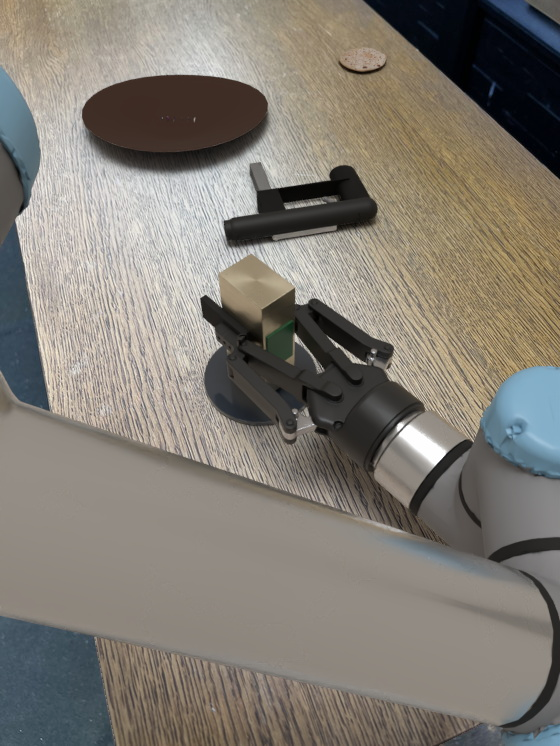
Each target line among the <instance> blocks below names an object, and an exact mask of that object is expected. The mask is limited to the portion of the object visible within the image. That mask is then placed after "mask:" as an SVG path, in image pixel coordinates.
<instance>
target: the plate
mask: <svg viewBox="0 0 560 746" xmlns="http://www.w3.org/2000/svg"><path fill="white" fill-rule="evenodd" d="M268 111H269V102H268V100H267V98H266V96H265V95H264V94H263V93H262V92H261V91H260V90H259V89H257V88H256V87H254V86H253V85H250V84H248V83H245V82H242V81H240V80H235V79H230V78H228V77H227V78H226V77H221V76H214V75H203V74H202V75H200V74H159V75H150V76H142V77H138V78H137V77H136V78H132V79H127V80H123V81H119V82H117V83H114V84H111V85H109V86H107V87H104V88H102V89H100V90H99V91H97V92H95V93H94V94H93V95H91V96H90V97H89V98H88V99H87V100H86V101H85V102H84V105H83V107H82V109H81V120H82V122H83V124H84V127H85V128H86V129H88V130H89V132H91V134H93V135H94V136H96V137H97V138H98V139H101V140H102V141H104V142H106V143H109V144H111V145H115V146H117V147H120V148H124V149H125V148H126V149H130V150H132V151H133V150H134V151H141V152H150V153H151V152H152V153H179V152H189V151H196V150H203V149H206V148H211V147H216V146H218V145H221V144H222V145H223V144H226V143H228V142H231V141H234V140H235V139H238V138H239V137H241V136H244V135H246V134H247V133H249V132H250V131H252V130H253V129H254V128H256V127H258V126H259V124H260V123H261V122H262V121H264V119H265V118H266V115H267V113H268Z"/></svg>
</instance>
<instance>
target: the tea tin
mask: <svg viewBox="0 0 560 746" xmlns="http://www.w3.org/2000/svg"><path fill="white" fill-rule="evenodd" d="M217 276H218V285H219V294H220V303H221V308H222V309H223V310H225V311H226V312H227V313H228V314H229V315H231V316H232V317H233V318H234V319H235V320H236V321H238V322H239V323H240V324H241V325H242V326H243V327H245V328H246V329H247V330H248V331H249V335H250V342H252V343H254V344H256V345H258V346H259V347H261V348H263V349H265V350H266V351H268V352H270V353H272V354H274V355H275V356H277V357H279V358H281V359H282V360H284V361H286V362H288V363H290V364H291V365H293V366H294V354H295V342H296V341H295V340H296V339H295V338H296V334H295V304H296V286H295V285H293V284H292V283H291V282H290V281H288V280H286V279H285V278H284V277H283V276H282V275H280V274H279V273H278V272H277V271H275V270H274V269H273V268H271V267H270V266H269V265H267V264H266V263H265V262H263V261H262V260H261V259H259V258H258V257H257V256H256V255H254V254H253V253H250V254H248V255H246V256H245V257H243V258H242V259H240V260H238V261H237V262H235V263H233V264H232V265H230V266H228V267H227V268H225V269H223V270H222V271H220V272H218V275H217ZM229 354H231V352H229V351H228V350H227V355H229ZM261 377H262V376H261ZM262 378H263V377H262ZM263 379H264V380H265V381H266V382H267V383H268V384H269V385H270V386H271V387H272V388H273V389H274V390H277V389H278V388H279V386H277V385H275V384H274V383H272V382H270V381H268V380H267V379H265V378H263Z"/></svg>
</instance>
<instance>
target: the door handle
mask: <svg viewBox="0 0 560 746" xmlns="http://www.w3.org/2000/svg"><path fill="white" fill-rule="evenodd" d="M248 165H249V176H250V178H251V181H252V183H253V186H254V189H255V191H256V207H257V212H258V213H253V214H247V215H240V216H233V217H231V218H229V219H225V220H223V222H222V223H223V231H224V236H225V240H226V241H227V242H228V241H232V242H242V241H249V240H254V239H262V238H267V237H271V238H272V240H273V241H275V242H277V241H279V240H283V239H284V240H285V239H289V238H295V237H302V236H308V235H313V234H314V235H315V234H320V233H326V232H327V233H328V232H332V231H333V232H334V231H337V230H338V229H337V228H338V226H343V225H351V224H357V223H359V224H360V225H361V226H362V225H363V224H362V222H369V221H372V220H373V219H374V218H375V217H376V216H377V213H378V210H379V209H378V203H377V202H376V200H375V199H373V198H372V197H371V196H370V193H369V192H368V190H367V188H366V187H365V185H364V184H363V182H362V179H361V178H360V176H359V174H358V173H357V171H356V169H355V168H354V167H353V166H351V165H348V164H341V165H337V166H335V167H333V168H332V169H331V170H330V171H329V175H328V176H329V180H322V181H315V182H309V183H301V184H295V185H289V186H281V187H275V188H272V186H271V184H270V182H269V181H270V180H269V179H268V176H267V174H266V171H265V169H264V167H263V163H262V161H257V162H250V163H249V164H248ZM334 196H338V197H339V199H340V201H339V200H338V201H335V200H333V199H332V198H330V197H334ZM316 199H322V202H324V203H319V204H311V205H306V206H299V207H293V208H287V209H286V206H285V204H289V203H295V202H302V201H309V200H316Z"/></svg>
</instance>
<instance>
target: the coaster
mask: <svg viewBox="0 0 560 746" xmlns="http://www.w3.org/2000/svg"><path fill="white" fill-rule="evenodd" d="M226 357H227V349H226V348H225V347H224V346H223V345H221V346H220V347H219V348H218V349H217V350H215V351H214V353H213V354H212V355H211V357H210V358H209V360H208V362H207V363H206V366H205V370H204V376H203V382H204V383H203V384H204V391H205V394H206V396H207V398H208V400H209V402H210V403H211V405H212V406H213V407H214V409H216V410H217V412H219V413H220V414H221V415H222V416H225V417H226V418H228V419H229V420H232V421H233V422H237V423H240V424H243V425H249V426H259V427H260V426H272V425H276V424H275V423H274V422H273V421H272V420H271V419H270V418H269V417H268V416H267V415H266V414H265V413H264V412H263V411H262V410H261V409H260V408H259V407H258V406H257V405H256V404H255V403H254V402H253V401H252V400H251V399H250V398H249V397H248V396H247V395H246V394H245V393H244V392H243V391H242V390H241V389H240V388H239V387H238V386H237V385H236V384H235V383H234V382H233V381H232V380H231V379H230V378H229V377H228V370H227V361H226ZM294 366H295V367H297V368H298V369H300V370H304V369H306V370H308V371H310V372H312V373H314V374H318V370H317V366H316V363H315V361H314V359H313V357H312V356H311V353H309V352H308V351H307V349H306V348H305V347H304V346H303V345H301V344H299V343H298V342H297V341H295V354H294ZM275 391H276V392H277V393H278V394H279V395H280V396H281V397H282V398H284V400H285V401H286V402H287V403H288V404H289V406H290V408H291V409H297V410H298V411H299V412H300V413H301V412H302V411H303V410H304V409H305V408H306V407H307V406H306V405H304V404H302V403H301V402H299V401H298V400H297V399H296V398H295V396H294V395H292V394H291V393H289V392H287V391H286V390H284V389H282V388H280V387H279V388H278V389H277V390H275Z"/></svg>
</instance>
